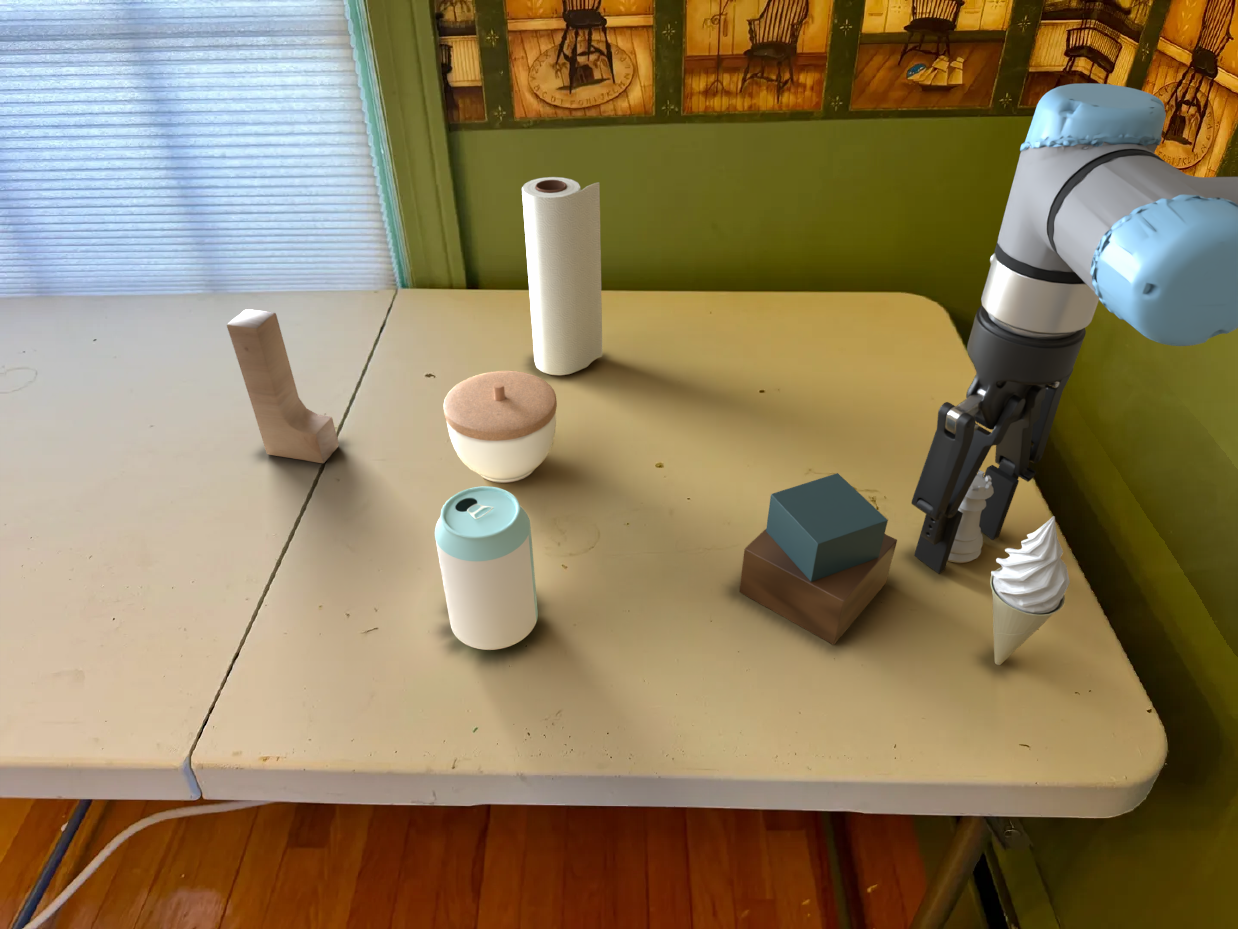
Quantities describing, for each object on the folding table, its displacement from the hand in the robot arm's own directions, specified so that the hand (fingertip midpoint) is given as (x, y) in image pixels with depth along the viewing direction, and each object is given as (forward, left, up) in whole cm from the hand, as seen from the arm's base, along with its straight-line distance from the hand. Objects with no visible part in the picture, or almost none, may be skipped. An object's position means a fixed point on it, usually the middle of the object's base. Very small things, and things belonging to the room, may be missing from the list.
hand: (957, 545), depth 78 cm
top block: (+4, +14, +5) cm, 15 cm away
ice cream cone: (-10, +8, -1) cm, 13 cm away
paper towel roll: (+47, +12, -1) cm, 48 cm away
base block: (+4, +14, 0) cm, 14 cm away
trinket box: (+34, +27, -1) cm, 43 cm away
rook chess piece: (0, 0, -1) cm, 1 cm away
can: (+16, +38, -1) cm, 41 cm away
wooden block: (+48, +43, -1) cm, 64 cm away
